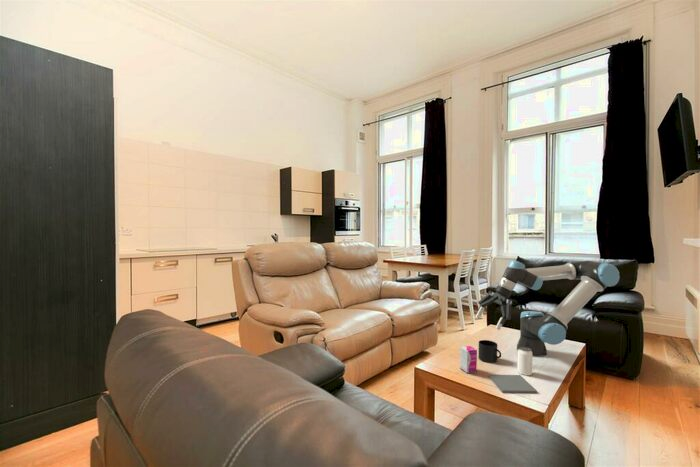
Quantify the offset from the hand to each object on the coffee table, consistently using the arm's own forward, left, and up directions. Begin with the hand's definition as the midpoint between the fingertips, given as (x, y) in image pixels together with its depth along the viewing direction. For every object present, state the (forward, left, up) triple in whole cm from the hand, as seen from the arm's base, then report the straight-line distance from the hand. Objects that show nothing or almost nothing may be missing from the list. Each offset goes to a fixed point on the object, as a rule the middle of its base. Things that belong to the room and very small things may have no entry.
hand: (487, 323), depth 173 cm
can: (-14, +12, -21) cm, 28 cm away
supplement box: (+13, +10, -21) cm, 27 cm away
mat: (-2, +24, -21) cm, 32 cm away
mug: (-3, -3, -21) cm, 21 cm away
